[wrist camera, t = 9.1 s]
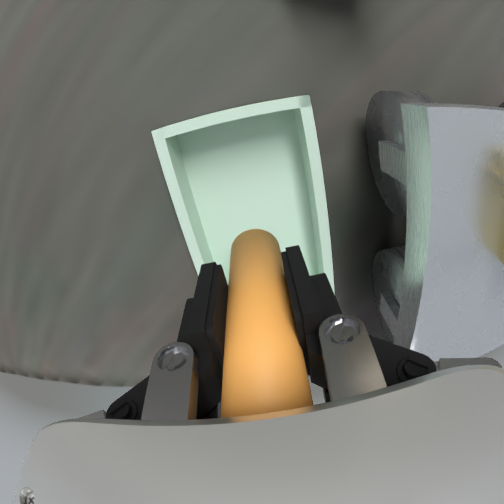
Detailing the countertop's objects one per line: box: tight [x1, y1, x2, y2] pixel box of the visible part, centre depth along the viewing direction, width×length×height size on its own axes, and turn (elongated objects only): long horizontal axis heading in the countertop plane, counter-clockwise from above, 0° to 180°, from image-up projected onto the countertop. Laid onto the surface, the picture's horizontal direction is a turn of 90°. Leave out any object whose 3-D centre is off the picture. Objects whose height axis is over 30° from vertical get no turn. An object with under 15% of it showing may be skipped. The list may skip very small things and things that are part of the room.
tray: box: [151, 95, 335, 295], centre depth 18 cm, size 13×8×3 cm, turn 12°
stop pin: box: [221, 229, 313, 418], centre depth 10 cm, size 3×3×11 cm
